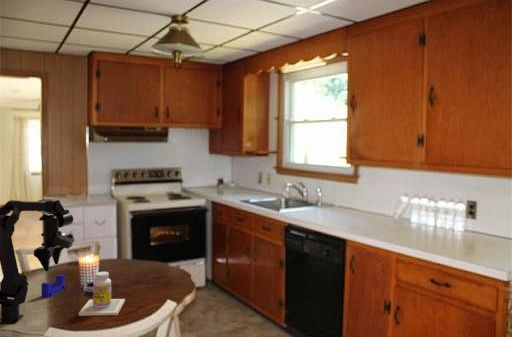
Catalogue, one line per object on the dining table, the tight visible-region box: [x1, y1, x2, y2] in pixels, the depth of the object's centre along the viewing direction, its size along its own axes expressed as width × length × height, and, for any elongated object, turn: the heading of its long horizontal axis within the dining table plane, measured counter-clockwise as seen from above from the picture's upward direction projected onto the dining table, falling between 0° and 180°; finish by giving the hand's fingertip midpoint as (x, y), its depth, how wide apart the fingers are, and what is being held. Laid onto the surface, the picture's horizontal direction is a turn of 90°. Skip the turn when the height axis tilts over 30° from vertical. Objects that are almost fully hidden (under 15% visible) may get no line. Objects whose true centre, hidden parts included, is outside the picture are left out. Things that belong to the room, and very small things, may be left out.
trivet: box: [78, 298, 126, 317], centre depth 168 cm, size 14×14×1 cm
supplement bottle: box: [92, 271, 112, 308], centre depth 168 cm, size 7×7×13 cm
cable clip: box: [40, 274, 66, 299], centre depth 184 cm, size 12×4×6 cm, turn 172°
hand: (51, 267), depth 176 cm, fingers open, 9 cm apart
